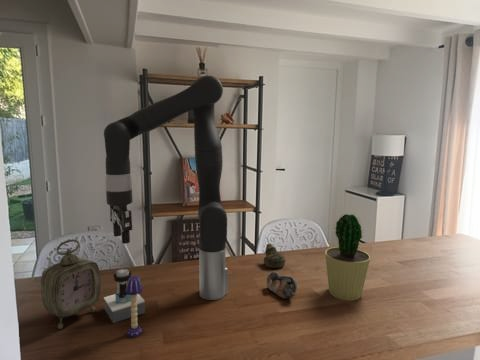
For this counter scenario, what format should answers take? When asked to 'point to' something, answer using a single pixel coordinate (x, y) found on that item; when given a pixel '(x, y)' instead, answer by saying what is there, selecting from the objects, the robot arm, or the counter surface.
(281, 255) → the seashell
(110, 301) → the plinth
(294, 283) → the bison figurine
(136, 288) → the toy lamp
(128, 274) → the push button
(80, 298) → the tabletop clock
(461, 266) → the counter surface
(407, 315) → the counter surface
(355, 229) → the potted cactus
